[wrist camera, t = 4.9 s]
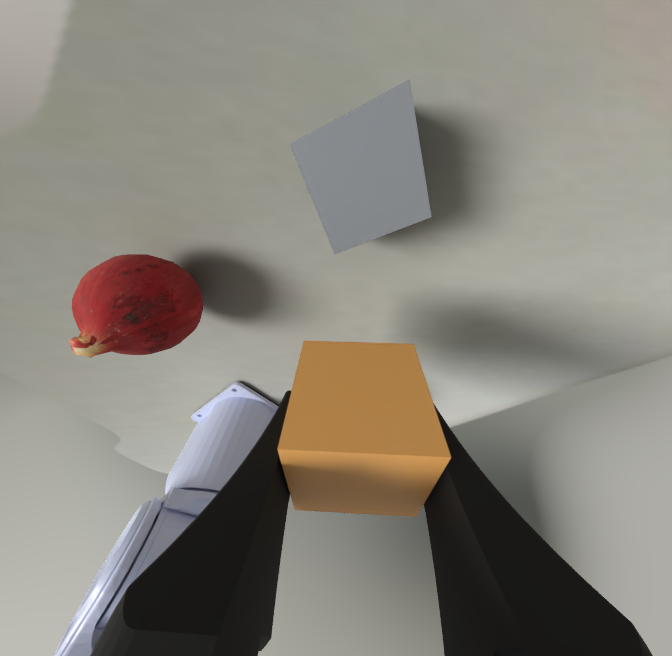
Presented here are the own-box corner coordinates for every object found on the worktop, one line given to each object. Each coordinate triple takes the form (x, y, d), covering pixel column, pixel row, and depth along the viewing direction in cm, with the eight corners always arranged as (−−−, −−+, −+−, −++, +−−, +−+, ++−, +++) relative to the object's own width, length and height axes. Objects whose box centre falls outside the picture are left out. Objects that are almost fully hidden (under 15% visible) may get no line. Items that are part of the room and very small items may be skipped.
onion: (184, 224, 15) (63, 277, 9) (237, 299, 18) (176, 379, 12) (120, 255, 17) (-25, 320, 10) (179, 320, 20) (96, 401, 13)
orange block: (310, 407, 14) (294, 510, 10) (303, 340, 11) (277, 449, 7) (396, 410, 14) (416, 516, 10) (413, 344, 11) (451, 457, 7)
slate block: (338, 229, 15) (334, 254, 11) (306, 146, 13) (289, 144, 9) (410, 200, 14) (431, 217, 10) (390, 102, 11) (409, 79, 8)
